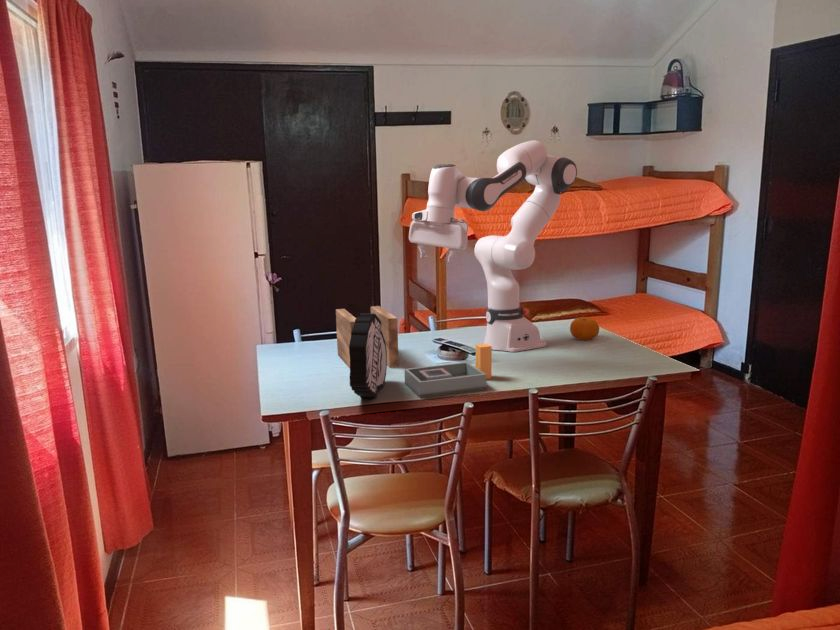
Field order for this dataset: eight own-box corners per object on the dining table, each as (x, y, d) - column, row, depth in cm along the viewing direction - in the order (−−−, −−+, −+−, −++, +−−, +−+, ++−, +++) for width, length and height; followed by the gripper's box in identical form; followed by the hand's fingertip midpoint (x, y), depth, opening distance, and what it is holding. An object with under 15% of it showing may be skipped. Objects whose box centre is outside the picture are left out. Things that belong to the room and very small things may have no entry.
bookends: (380, 350, 236) (378, 305, 233) (398, 366, 215) (397, 318, 212) (337, 354, 231) (335, 309, 228) (352, 371, 211) (350, 322, 207)
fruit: (569, 341, 243) (570, 320, 242) (569, 335, 253) (570, 314, 252) (599, 343, 241) (600, 321, 239) (598, 336, 251) (599, 315, 249)
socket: (442, 379, 198) (442, 368, 197) (451, 386, 191) (451, 374, 190) (418, 382, 195) (418, 370, 195) (427, 389, 189) (427, 377, 188)
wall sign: (384, 404, 197) (362, 387, 169) (370, 403, 198) (345, 387, 169) (388, 331, 203) (368, 303, 175) (375, 331, 204) (352, 303, 175)
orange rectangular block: (486, 375, 205) (486, 343, 203) (491, 378, 201) (491, 346, 199) (475, 376, 203) (475, 344, 201) (480, 379, 200) (480, 347, 198)
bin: (467, 376, 204) (467, 361, 203) (486, 389, 191) (486, 374, 190) (404, 383, 198) (404, 369, 197) (420, 398, 185) (419, 382, 184)
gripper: (473, 220, 206) (469, 264, 209) (419, 213, 217) (415, 256, 220) (463, 219, 201) (458, 265, 204) (407, 213, 212) (404, 256, 215)
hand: (435, 260), depth 212 cm, fingers open, 8 cm apart
